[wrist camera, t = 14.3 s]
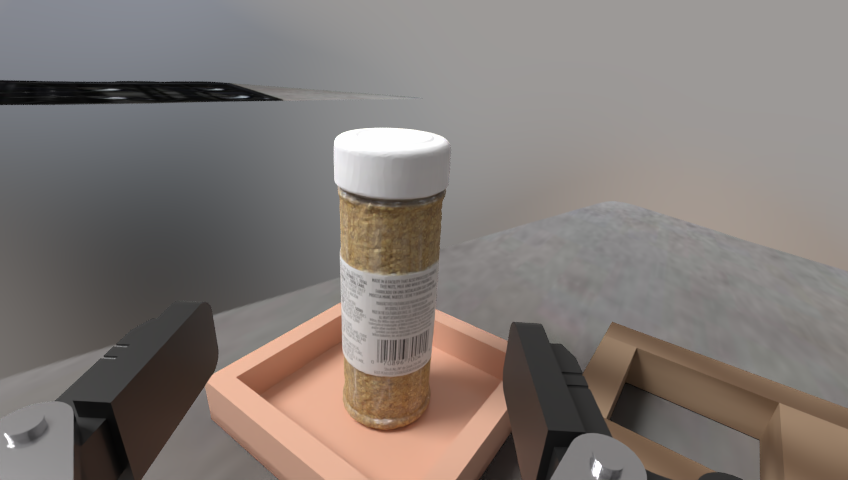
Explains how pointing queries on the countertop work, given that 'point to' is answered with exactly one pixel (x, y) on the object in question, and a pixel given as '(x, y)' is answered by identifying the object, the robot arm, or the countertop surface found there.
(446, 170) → the sprinkles bottle
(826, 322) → the countertop surface
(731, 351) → the countertop surface
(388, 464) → the terracotta tray
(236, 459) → the countertop surface
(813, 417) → the walnut rack
